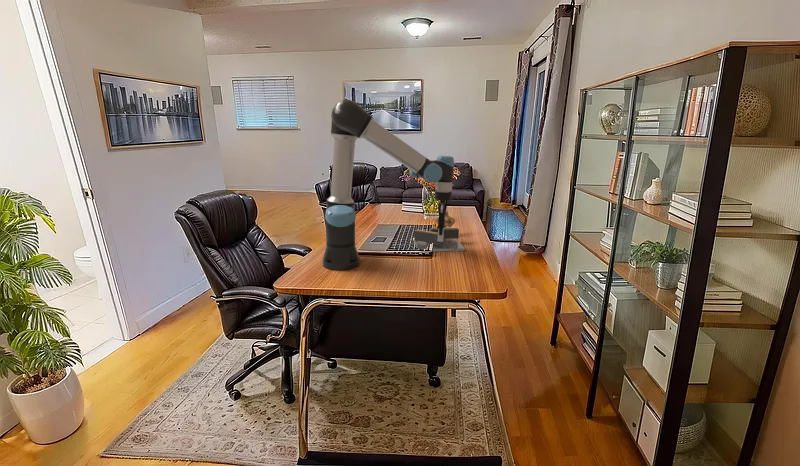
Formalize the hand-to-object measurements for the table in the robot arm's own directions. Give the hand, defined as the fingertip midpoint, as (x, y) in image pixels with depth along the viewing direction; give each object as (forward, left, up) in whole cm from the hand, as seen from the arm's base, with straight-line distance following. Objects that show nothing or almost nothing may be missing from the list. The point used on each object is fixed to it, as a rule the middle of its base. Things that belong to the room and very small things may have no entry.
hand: (440, 241), depth 174 cm
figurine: (+8, +25, -5) cm, 27 cm away
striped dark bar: (-4, +5, -3) cm, 7 cm away
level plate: (+1, +6, -4) cm, 7 cm away
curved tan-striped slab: (+5, +12, -3) cm, 13 cm away
